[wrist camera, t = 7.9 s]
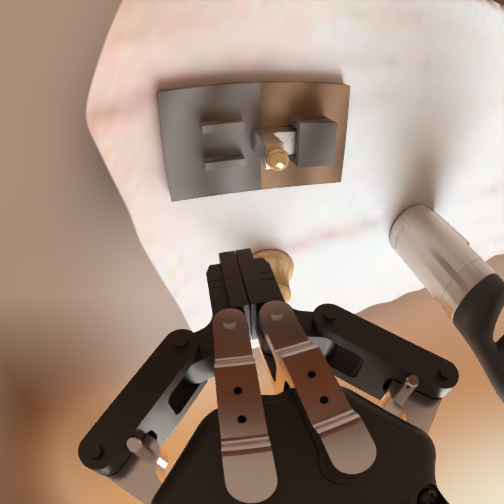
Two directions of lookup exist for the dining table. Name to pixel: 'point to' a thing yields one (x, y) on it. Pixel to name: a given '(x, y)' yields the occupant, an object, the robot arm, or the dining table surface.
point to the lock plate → (250, 135)
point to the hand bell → (279, 269)
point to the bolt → (274, 146)
